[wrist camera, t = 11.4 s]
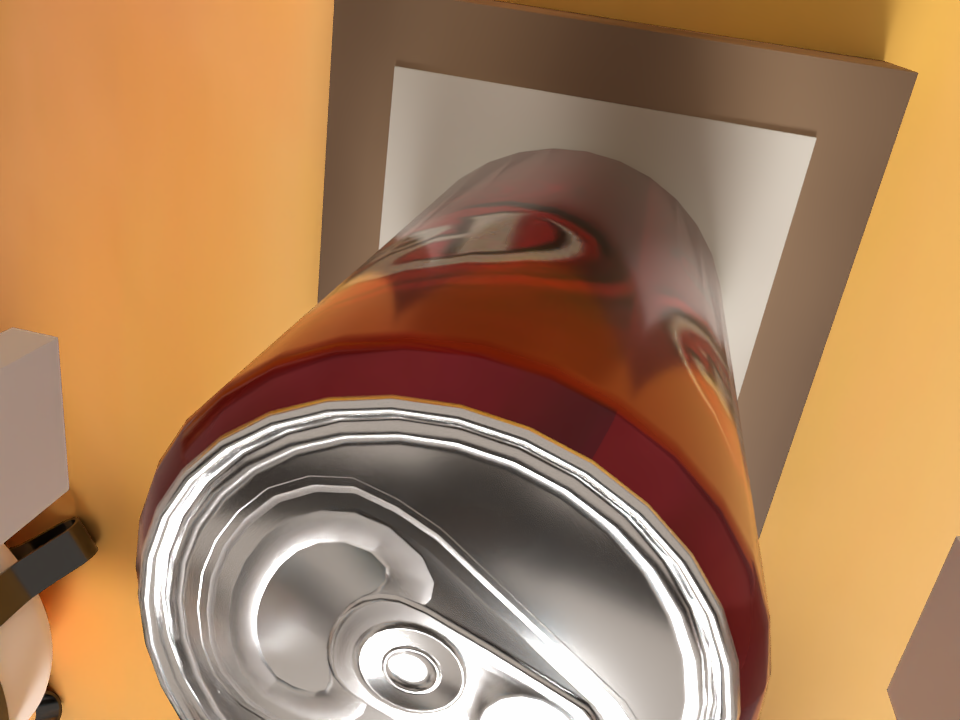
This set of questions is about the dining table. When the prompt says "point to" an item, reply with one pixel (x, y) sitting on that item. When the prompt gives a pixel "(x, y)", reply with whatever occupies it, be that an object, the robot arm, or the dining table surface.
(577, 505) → the soda can
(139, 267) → the dining table surface
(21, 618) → the coffee press
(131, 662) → the dining table surface
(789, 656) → the dining table surface
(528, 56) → the picture frame
